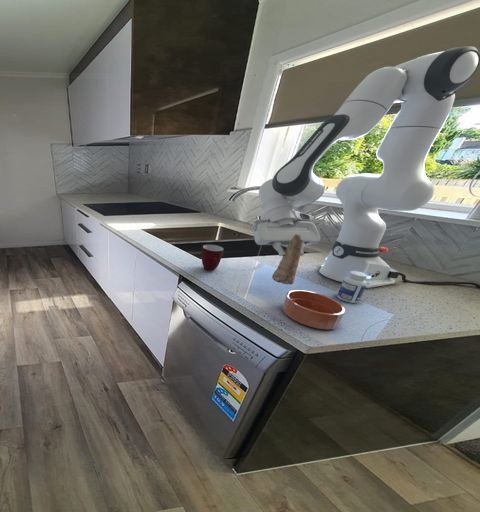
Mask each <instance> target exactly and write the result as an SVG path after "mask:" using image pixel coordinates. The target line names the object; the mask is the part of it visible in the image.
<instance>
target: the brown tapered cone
mask: <svg viewBox="0 0 480 512" xmlns="http://www.w3.org/2000/svg"><path fill="white" fill-rule="evenodd" d="M302 241H303V240H302V239H301V236H300V235H298V234H295V235H294V237H293V238H292V240H291V241H290V243H289V244H288V245H286V249H285V250H286V252H287V255H285V256H281V260H280V261H279V264H278V266H277V267H276V269H275V271H274V272H273V274H272V275H271V279H272V280H273V281H274V282H277V283H278V284H282V285H293V284H294V282H295V278H296V274H297V270H298V266H299V263H300V262H299V261H300V259H301V256H300V254H301V248H302Z"/></svg>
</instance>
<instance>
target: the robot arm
mask: <svg viewBox="0 0 480 512" xmlns="http://www.w3.org/2000/svg"><path fill="white" fill-rule="evenodd" d="M479 66H480V52H479V50H478V48H477V47H475V46H471V45H470V46H469V45H468V46H467V45H466V46H465V45H464V46H456V47H451V48H449V49H446V50H442V51H437V52H433V53H428V54H425V55H422V56H418V57H416V58H413V59H411V60H407V61H405V62H402V63H400V64H396V65H392V66H384V67H381V68H377V69H376V70H374V71H372V72H370V73H369V74H368V75H366V77H365V78H363V80H362V81H360V82H359V84H358V85H357V86H356V87H355V88H354V89H353V90H352V92H351V93H350V94H349V95H348V97H347V98H346V99H345V100H344V102H343V103H342V104H341V106H339V109H338V110H337V111H335V113H334V115H332V116H330V117H329V118H327V119H326V120H325V121H324V122H322V123H321V124H320V125H319V126H318V127H317V128H316V130H315V131H314V132H313V133H312V134H311V136H310V137H309V138H308V139H307V140H306V141H305V142H304V143H303V145H302V146H301V147H300V148H299V150H298V151H297V152H296V153H295V154H294V155H293V157H291V159H290V160H288V162H286V163H285V164H283V165H282V166H281V167H280V168H279V169H278V170H277V171H276V172H275V174H274V175H273V177H272V178H270V179H268V180H266V181H264V182H263V183H262V184H261V185H260V187H259V189H258V199H259V204H260V207H261V209H262V210H263V219H256V220H254V221H253V222H252V224H251V226H252V229H253V238H254V242H255V244H256V245H258V246H272V248H273V249H274V250H275V251H276V252H277V253H278V256H279V257H283V256H285V255H287V252H286V249H284V248H283V246H288V244H289V243H290V241H291V240H292V238H293V237H294V235H295V234H298V235H300V236H301V239H302V240H303V241H302V248H301V254H300V257H302V256H304V255H305V252H304V249H305V246H313V245H315V244H317V243H319V242H320V240H321V234H320V231H319V229H318V228H317V225H316V224H315V223H314V222H313V215H311V214H308V213H305V212H301V211H299V210H295V208H300V207H303V206H306V205H309V204H312V203H314V202H316V201H318V200H319V199H320V198H322V196H323V194H324V193H325V189H326V186H325V183H324V182H323V180H321V178H320V177H319V176H318V175H316V174H315V173H314V167H315V165H316V164H317V163H318V161H319V160H320V159H321V158H322V157H323V155H325V153H326V152H327V151H328V150H329V149H330V148H331V146H333V144H335V143H336V142H337V141H339V140H340V141H352V140H357V139H360V138H362V137H364V136H366V135H368V134H369V133H370V132H371V131H373V129H374V128H375V127H376V126H378V124H379V123H380V122H381V121H382V119H383V118H384V117H385V116H386V114H387V113H388V112H389V110H390V109H391V107H393V105H394V104H396V103H400V106H401V107H400V110H399V111H398V112H397V114H396V115H395V117H394V118H393V121H392V122H391V124H390V126H389V127H388V129H387V131H386V133H385V135H384V137H383V139H382V140H381V142H380V144H379V146H378V148H377V150H376V152H375V155H376V158H377V159H378V160H379V161H381V162H382V165H383V166H382V167H383V168H382V172H381V174H379V173H358V174H357V173H356V174H351V175H347V176H345V177H343V178H342V179H341V180H340V181H339V183H338V184H337V185H336V188H335V195H336V197H337V199H338V200H339V201H340V203H341V205H342V211H343V219H342V224H341V228H340V230H339V233H338V236H337V239H335V240H334V242H333V245H332V247H331V249H332V250H330V252H329V253H328V255H327V257H325V261H324V262H323V264H321V265H320V269H319V270H318V271H319V273H320V274H321V275H322V276H324V277H326V278H328V279H331V280H334V281H336V282H340V283H342V282H343V279H344V278H345V277H348V276H349V273H350V271H358V272H362V273H365V274H366V275H367V278H366V279H365V281H366V282H367V285H366V287H365V289H370V288H375V287H383V286H390V285H395V284H396V280H395V279H398V277H399V276H401V281H402V282H405V283H411V284H420V285H421V284H430V285H444V284H449V285H450V284H451V285H472V286H474V287H476V288H477V289H480V283H477V282H474V281H453V280H439V281H438V280H417V281H416V280H409V279H407V276H406V274H405V273H402V272H401V271H398V270H397V269H395V268H393V267H390V265H389V264H388V263H387V262H386V261H385V260H383V258H381V257H380V253H382V254H387V253H388V252H389V248H388V247H384V246H379V245H380V243H381V241H382V239H383V237H384V235H385V232H386V230H387V224H386V222H385V221H384V220H383V219H382V218H381V217H380V214H379V209H381V210H387V211H391V212H392V211H398V212H407V211H409V212H410V211H416V210H418V209H420V208H421V207H422V208H423V206H425V205H426V204H427V203H428V202H430V201H431V199H432V198H433V196H434V194H435V187H434V184H433V182H432V181H431V180H430V179H429V178H428V177H427V175H426V169H425V165H426V159H427V157H428V154H429V152H430V150H431V148H432V146H433V144H434V143H435V141H436V139H437V137H438V136H439V134H440V132H441V130H442V129H443V128H444V125H445V123H446V121H447V120H448V117H449V115H450V113H451V111H452V109H453V106H454V102H455V99H456V94H457V92H458V91H460V89H461V88H462V87H463V86H465V84H466V83H468V82H469V81H470V80H471V78H472V77H473V76H474V75H475V73H476V72H477V70H478V69H479Z"/></svg>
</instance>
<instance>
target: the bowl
mask: <svg viewBox="0 0 480 512" xmlns="http://www.w3.org/2000/svg"><path fill="white" fill-rule="evenodd" d="M281 308H282V312H283V313H284V314H285V315H286V316H287V317H288V318H290V319H292V320H293V321H295V322H297V323H299V324H301V325H303V326H307V327H309V328H313V329H318V330H335V329H337V328H338V327H339V325H340V323H341V321H342V319H343V317H344V314H345V313H346V309H345V307H344V305H342V304H341V303H340V302H339V301H337V300H335V299H333V298H331V297H329V296H328V295H324V294H321V293H319V292H315V291H310V290H302V289H292V290H289V291H287V292H286V294H285V297H284V299H283V303H282V305H281Z"/></svg>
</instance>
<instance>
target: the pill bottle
mask: <svg viewBox="0 0 480 512" xmlns="http://www.w3.org/2000/svg"><path fill="white" fill-rule="evenodd" d="M366 278H367V275H366V274H365V273H362V272H358V271H350V273H349V276H348V277H345V278H344V279H343V282H341V284H340V287H339V290H338V292H337V295H336V297H337V298H338V299H339V300H341V301H343V302H346V303H351V304H357V303H359V302H360V300H361V298H362V296H363V293H364V291H365V289H366V288H365V287H366V285H367V282H366V281H365V279H366Z"/></svg>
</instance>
